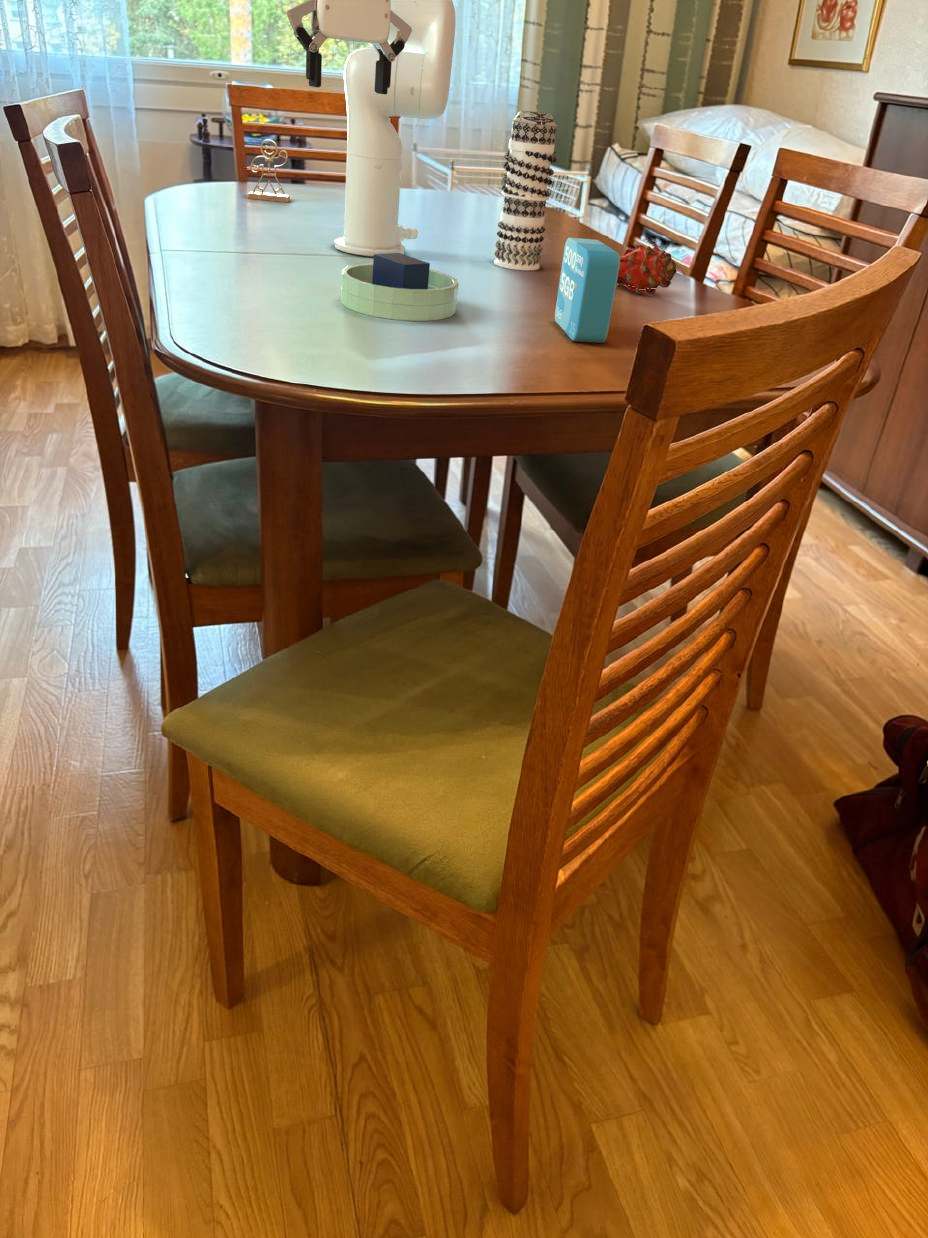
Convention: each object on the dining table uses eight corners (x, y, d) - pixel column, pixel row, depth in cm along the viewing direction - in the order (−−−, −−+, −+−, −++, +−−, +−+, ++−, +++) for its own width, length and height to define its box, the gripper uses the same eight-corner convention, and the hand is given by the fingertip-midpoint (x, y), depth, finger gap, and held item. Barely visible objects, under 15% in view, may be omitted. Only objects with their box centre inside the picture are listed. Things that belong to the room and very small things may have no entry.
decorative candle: (548, 266, 178) (570, 115, 165) (530, 273, 171) (551, 115, 158) (503, 257, 181) (521, 108, 168) (484, 263, 174) (501, 108, 161)
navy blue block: (395, 298, 141) (398, 252, 138) (426, 310, 137) (430, 262, 134) (371, 300, 139) (373, 253, 135) (401, 312, 134) (404, 264, 131)
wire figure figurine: (247, 198, 211) (246, 137, 205) (249, 195, 214) (249, 136, 208) (288, 202, 212) (288, 142, 206) (290, 199, 215) (290, 140, 209)
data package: (553, 321, 141) (565, 235, 135) (582, 323, 142) (596, 237, 136) (574, 344, 131) (589, 252, 125) (606, 346, 132) (622, 254, 126)
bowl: (406, 291, 148) (408, 261, 146) (478, 317, 138) (481, 285, 136) (318, 298, 138) (319, 266, 136) (388, 328, 128) (390, 293, 126)
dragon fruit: (675, 306, 166) (605, 308, 168) (674, 269, 170) (605, 270, 171) (680, 270, 159) (607, 272, 160) (679, 232, 162) (607, 234, 163)
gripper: (404, -49, 130) (395, 94, 138) (280, -71, 122) (279, 82, 131) (427, -52, 124) (416, 98, 133) (298, -75, 117) (296, 85, 125)
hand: (348, 89), depth 132 cm, fingers open, 9 cm apart
